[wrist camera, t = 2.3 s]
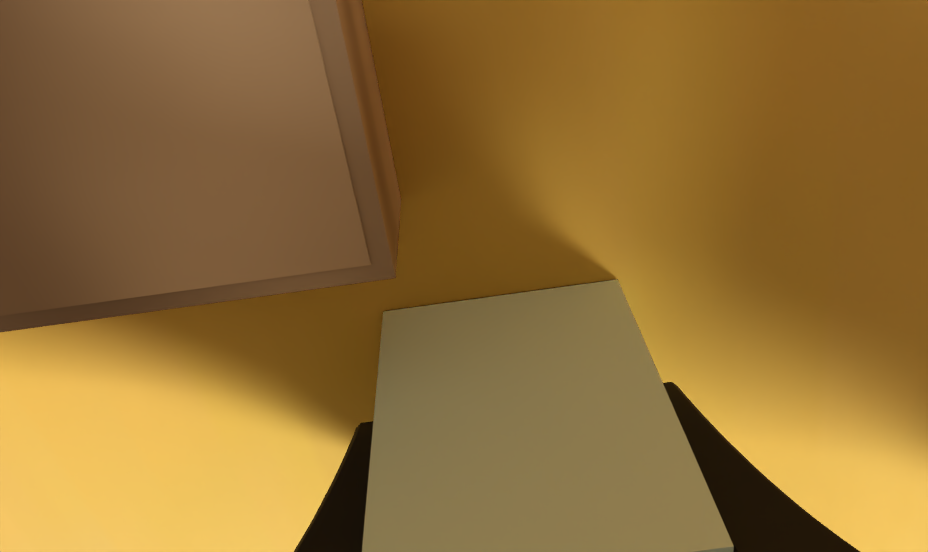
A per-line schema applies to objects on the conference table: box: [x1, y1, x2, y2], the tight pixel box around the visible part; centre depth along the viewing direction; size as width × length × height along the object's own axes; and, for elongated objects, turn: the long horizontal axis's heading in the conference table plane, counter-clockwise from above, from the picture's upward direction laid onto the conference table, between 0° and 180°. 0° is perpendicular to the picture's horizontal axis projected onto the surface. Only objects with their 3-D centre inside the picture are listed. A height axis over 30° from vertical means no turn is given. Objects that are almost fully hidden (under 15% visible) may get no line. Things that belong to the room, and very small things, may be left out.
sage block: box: [362, 279, 734, 552], centre depth 12 cm, size 4×4×6 cm
